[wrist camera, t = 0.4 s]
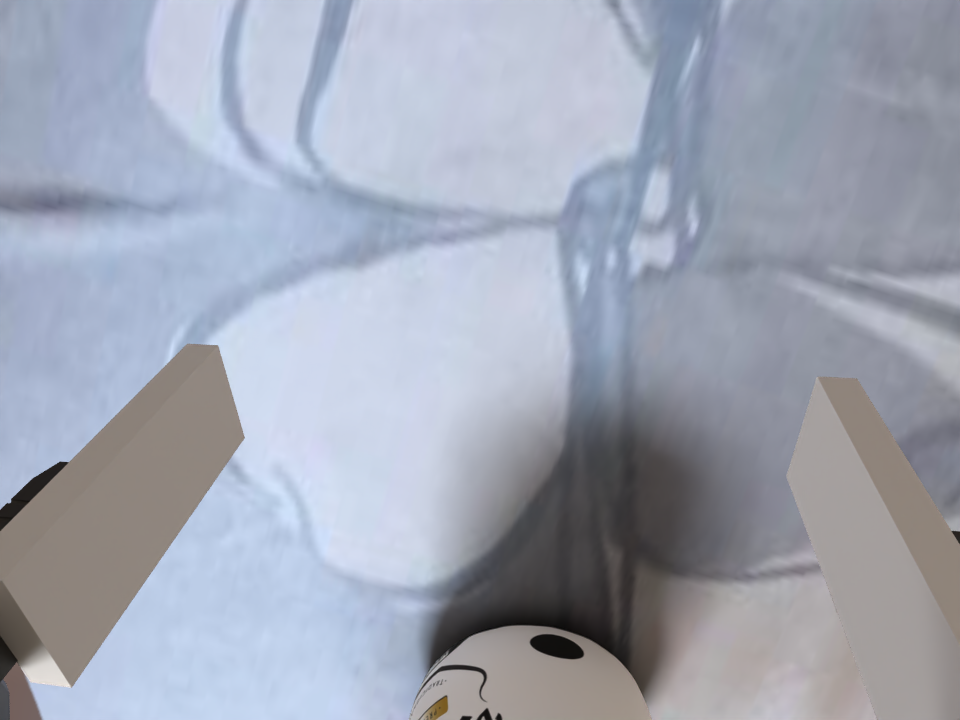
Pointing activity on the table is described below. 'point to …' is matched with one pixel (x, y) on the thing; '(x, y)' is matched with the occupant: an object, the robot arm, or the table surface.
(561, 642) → the milk container
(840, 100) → the table surface
